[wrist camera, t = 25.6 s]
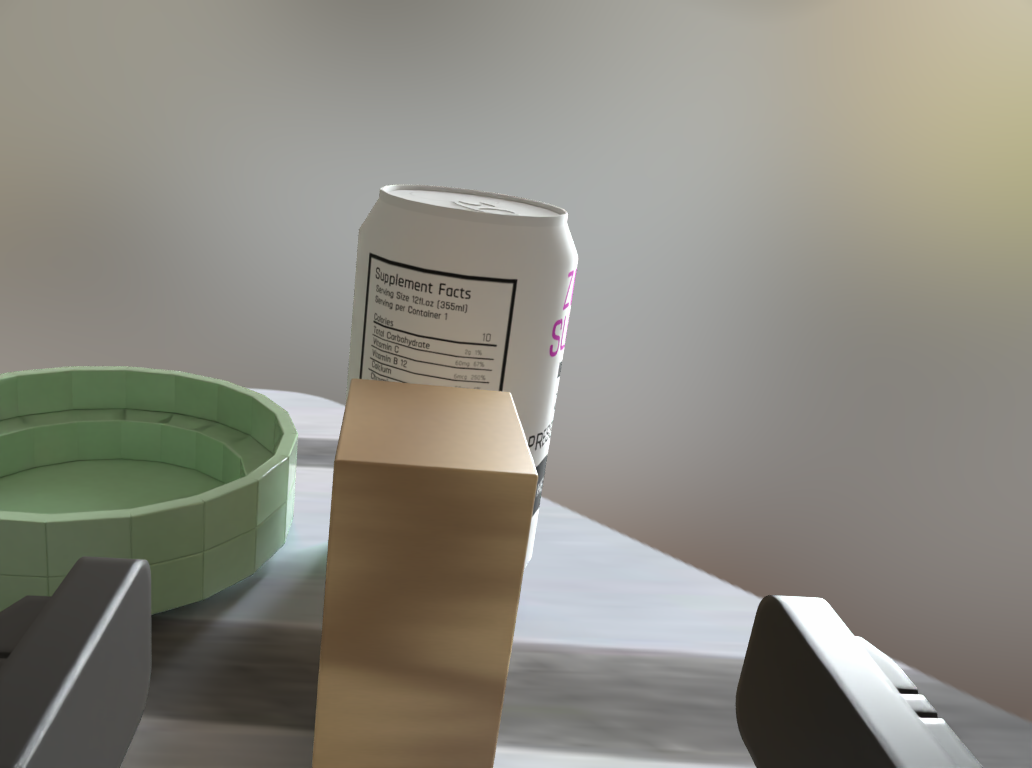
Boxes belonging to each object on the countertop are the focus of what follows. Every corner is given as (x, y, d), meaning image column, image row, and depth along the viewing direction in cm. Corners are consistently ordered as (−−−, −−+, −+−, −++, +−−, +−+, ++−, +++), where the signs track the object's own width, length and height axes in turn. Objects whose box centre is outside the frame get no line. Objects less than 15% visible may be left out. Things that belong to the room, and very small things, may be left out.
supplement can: (306, 526, 37) (329, 176, 33) (470, 500, 42) (510, 190, 37) (382, 629, 31) (423, 213, 26) (566, 586, 35) (629, 224, 31)
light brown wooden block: (465, 715, 27) (511, 391, 24) (478, 862, 22) (539, 475, 19) (325, 711, 27) (351, 377, 23) (304, 861, 21) (334, 459, 18)
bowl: (263, 447, 44) (267, 365, 43) (322, 613, 31) (330, 503, 30) (-89, 461, 38) (-98, 366, 37) (-197, 676, 25) (-218, 540, 24)
